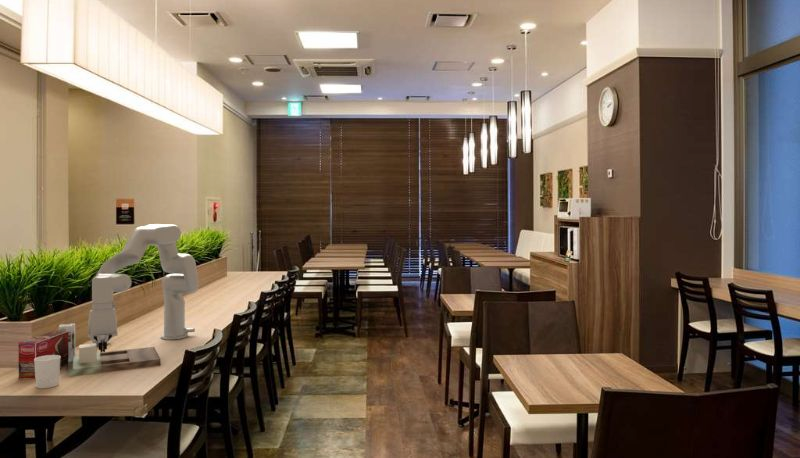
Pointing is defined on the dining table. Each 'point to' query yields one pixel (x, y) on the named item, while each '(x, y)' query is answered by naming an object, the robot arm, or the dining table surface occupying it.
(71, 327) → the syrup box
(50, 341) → the ice cream box
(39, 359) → the white cup
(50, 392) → the dining table surface
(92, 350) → the cream block
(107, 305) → the robot arm
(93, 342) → the die
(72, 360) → the board
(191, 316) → the dining table surface
